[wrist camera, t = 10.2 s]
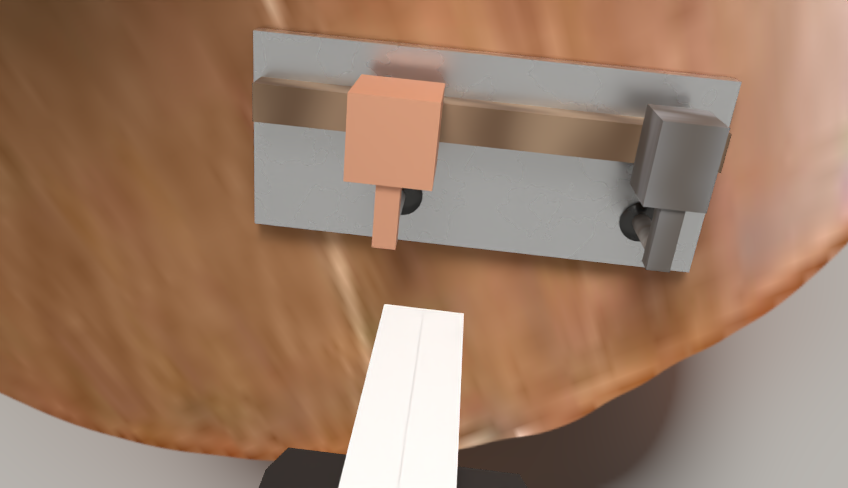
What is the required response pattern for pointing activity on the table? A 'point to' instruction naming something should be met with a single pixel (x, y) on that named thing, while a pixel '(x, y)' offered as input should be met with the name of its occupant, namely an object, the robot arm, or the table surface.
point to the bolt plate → (474, 151)
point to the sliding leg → (392, 144)
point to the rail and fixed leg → (557, 145)
